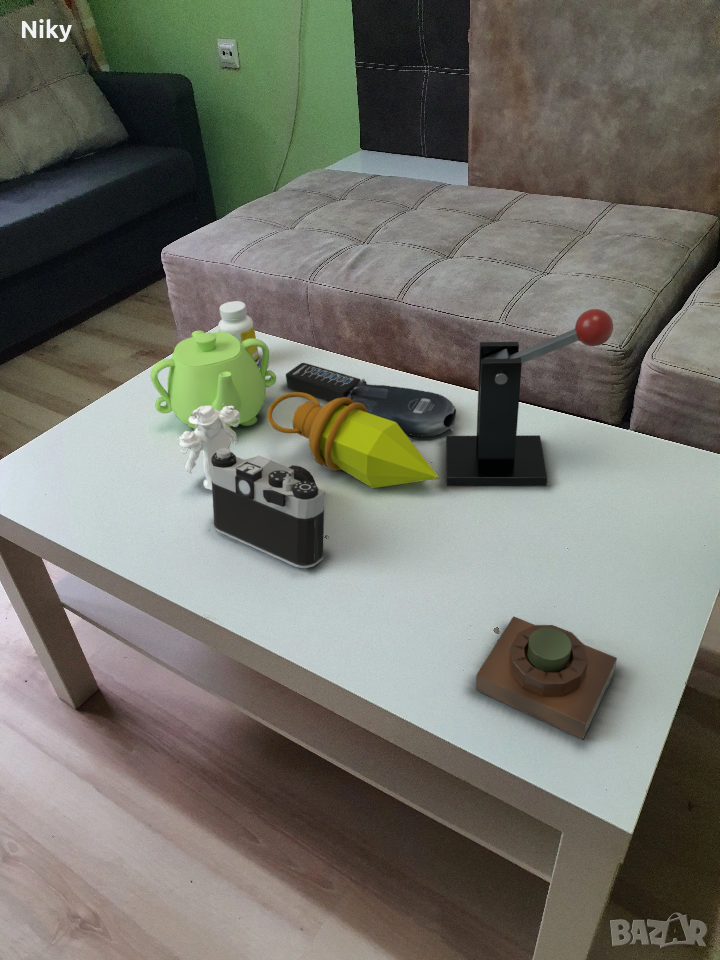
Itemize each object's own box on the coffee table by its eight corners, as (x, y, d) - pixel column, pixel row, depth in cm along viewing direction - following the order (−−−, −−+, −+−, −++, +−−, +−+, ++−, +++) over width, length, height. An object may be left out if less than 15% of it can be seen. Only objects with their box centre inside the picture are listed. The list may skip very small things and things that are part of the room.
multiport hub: (345, 406, 108) (344, 392, 107) (286, 387, 113) (284, 374, 112) (362, 392, 111) (361, 378, 109) (304, 374, 116) (302, 361, 115)
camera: (358, 533, 88) (361, 456, 83) (301, 576, 80) (301, 494, 75) (262, 494, 95) (260, 421, 90) (201, 530, 87) (195, 453, 82)
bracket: (539, 443, 98) (550, 332, 88) (546, 486, 91) (559, 371, 81) (446, 443, 99) (446, 334, 90) (446, 485, 92) (447, 372, 83)
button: (575, 650, 67) (577, 637, 66) (560, 679, 64) (562, 665, 63) (537, 634, 68) (538, 621, 67) (520, 662, 66) (522, 649, 65)
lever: (614, 327, 84) (603, 297, 82) (621, 343, 81) (609, 313, 79) (493, 375, 90) (480, 348, 88) (495, 393, 86) (482, 365, 84)
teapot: (299, 404, 109) (289, 324, 102) (242, 456, 100) (227, 373, 92) (211, 382, 116) (196, 306, 108) (150, 429, 106) (128, 349, 99)
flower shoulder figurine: (204, 504, 92) (184, 422, 85) (183, 493, 94) (161, 412, 87) (255, 467, 98) (240, 387, 90) (234, 458, 100) (218, 378, 92)
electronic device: (341, 438, 104) (444, 443, 98) (335, 401, 102) (440, 403, 96) (367, 411, 112) (465, 414, 105) (362, 376, 109) (461, 377, 103)
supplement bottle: (259, 353, 123) (250, 297, 117) (260, 369, 118) (250, 311, 112) (226, 357, 122) (215, 301, 116) (225, 373, 118) (214, 316, 112)
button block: (613, 673, 69) (620, 644, 66) (582, 739, 64) (588, 711, 61) (511, 631, 74) (514, 602, 71) (475, 690, 68) (476, 661, 66)
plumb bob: (457, 474, 95) (297, 404, 104) (459, 427, 87) (287, 356, 97) (421, 527, 90) (258, 449, 100) (419, 481, 83) (243, 402, 93)
